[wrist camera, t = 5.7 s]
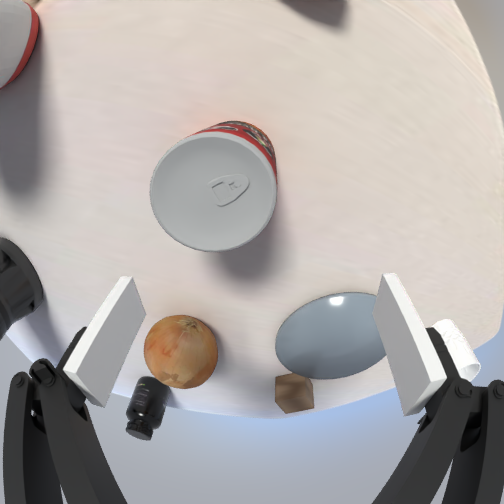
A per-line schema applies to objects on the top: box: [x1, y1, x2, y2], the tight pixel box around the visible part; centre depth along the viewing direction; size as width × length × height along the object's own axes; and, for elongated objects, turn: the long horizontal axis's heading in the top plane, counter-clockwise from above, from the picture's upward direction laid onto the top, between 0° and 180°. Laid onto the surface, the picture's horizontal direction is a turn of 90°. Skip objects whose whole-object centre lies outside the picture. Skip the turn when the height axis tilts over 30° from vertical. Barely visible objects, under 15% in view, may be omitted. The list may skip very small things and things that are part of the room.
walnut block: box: [275, 373, 314, 414], centre depth 41 cm, size 5×5×5 cm
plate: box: [276, 292, 386, 379], centre depth 36 cm, size 18×18×1 cm
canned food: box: [150, 121, 277, 252], centre depth 21 cm, size 8×8×11 cm
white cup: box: [429, 319, 481, 382], centre depth 32 cm, size 8×8×10 cm
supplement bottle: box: [126, 377, 170, 440], centre depth 43 cm, size 7×7×12 cm
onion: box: [144, 315, 218, 389], centre depth 33 cm, size 10×10×10 cm
